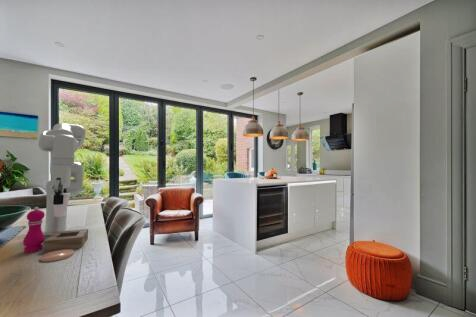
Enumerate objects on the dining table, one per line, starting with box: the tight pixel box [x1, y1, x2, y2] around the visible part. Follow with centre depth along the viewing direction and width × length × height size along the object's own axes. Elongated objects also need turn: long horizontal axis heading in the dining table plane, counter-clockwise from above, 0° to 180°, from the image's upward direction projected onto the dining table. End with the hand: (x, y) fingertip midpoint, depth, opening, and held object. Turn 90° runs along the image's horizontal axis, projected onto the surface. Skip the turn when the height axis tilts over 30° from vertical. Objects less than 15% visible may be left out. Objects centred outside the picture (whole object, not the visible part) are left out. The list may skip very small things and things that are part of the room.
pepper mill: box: [22, 206, 46, 254], centre depth 97 cm, size 7×7×20 cm
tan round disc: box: [39, 249, 75, 263], centre depth 90 cm, size 11×11×1 cm
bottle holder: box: [42, 228, 89, 254], centre depth 104 cm, size 16×14×5 cm
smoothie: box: [52, 193, 71, 217], centre depth 91 cm, size 6×6×14 cm
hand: (60, 202), depth 91 cm, fingers closed on smoothie, 6 cm apart
